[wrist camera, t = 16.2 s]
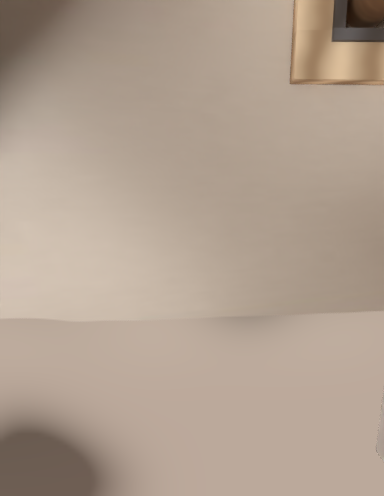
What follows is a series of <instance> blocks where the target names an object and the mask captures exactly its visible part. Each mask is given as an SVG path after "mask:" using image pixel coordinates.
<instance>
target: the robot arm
mask: <svg viewBox="0 0 384 496" xmlns="http://www.w3.org/2000/svg"><path fill="white" fill-rule="evenodd" d="M376 451H377V453H378V454H379V456H380V457H381V459H382V460H383V462H384V389H383V397H382V405H381V414H380V422H379V429H378V437H377V445H376Z"/></svg>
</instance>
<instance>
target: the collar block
mask: <svg viewBox="0 0 384 496" xmlns="http://www.w3.org/2000/svg"><path fill="white" fill-rule="evenodd" d="M346 13H347V0H294V13H293V33H292V52H291V72H290V84H375V85H384V28H345V27H346Z"/></svg>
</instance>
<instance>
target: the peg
mask: <svg viewBox="0 0 384 496" xmlns="http://www.w3.org/2000/svg"><path fill="white" fill-rule="evenodd" d="M383 19H384V0H347V13H346V21H347V23H348V24H349V26H350V27H351V28H374V27H376V26H377V25H378V24H379V23H380V22H381V21H382V20H383Z"/></svg>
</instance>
